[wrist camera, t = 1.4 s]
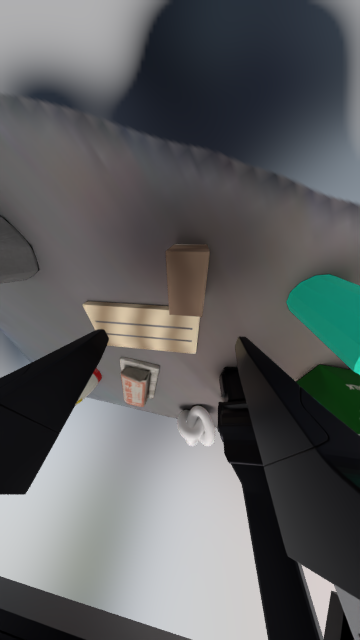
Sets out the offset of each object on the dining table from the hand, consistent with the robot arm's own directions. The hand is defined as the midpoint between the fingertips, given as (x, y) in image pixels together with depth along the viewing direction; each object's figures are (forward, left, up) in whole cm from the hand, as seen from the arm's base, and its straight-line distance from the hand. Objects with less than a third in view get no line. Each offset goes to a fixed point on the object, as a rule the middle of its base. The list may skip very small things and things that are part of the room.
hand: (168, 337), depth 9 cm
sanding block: (-1, -1, -12) cm, 12 cm away
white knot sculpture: (-6, +46, -13) cm, 48 cm away
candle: (-18, +2, -12) cm, 22 cm away
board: (+7, +10, -12) cm, 17 cm away
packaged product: (+12, +30, -13) cm, 35 cm away
